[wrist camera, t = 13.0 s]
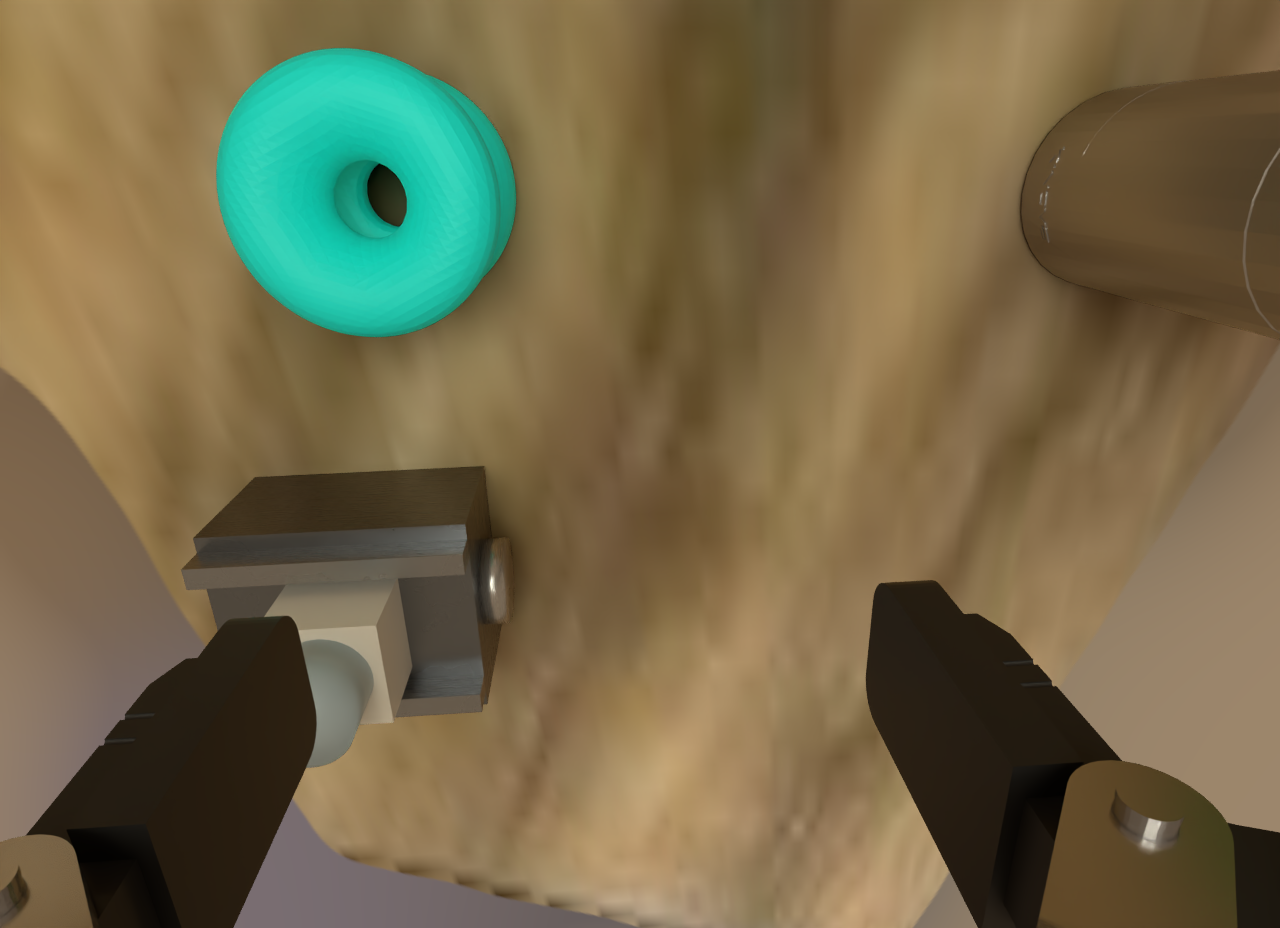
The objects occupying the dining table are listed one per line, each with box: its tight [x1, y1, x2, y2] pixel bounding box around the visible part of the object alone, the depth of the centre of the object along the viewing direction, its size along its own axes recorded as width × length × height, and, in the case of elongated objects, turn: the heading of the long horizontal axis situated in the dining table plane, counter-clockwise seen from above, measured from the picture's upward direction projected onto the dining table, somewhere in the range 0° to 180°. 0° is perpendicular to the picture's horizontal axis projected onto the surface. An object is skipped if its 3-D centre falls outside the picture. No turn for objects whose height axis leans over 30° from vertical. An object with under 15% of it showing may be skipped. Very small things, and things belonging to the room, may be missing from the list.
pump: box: [264, 578, 412, 768], centre depth 34 cm, size 5×5×7 cm
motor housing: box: [181, 466, 514, 717], centre depth 40 cm, size 13×10×8 cm
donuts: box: [216, 48, 516, 337], centre depth 32 cm, size 10×10×10 cm
